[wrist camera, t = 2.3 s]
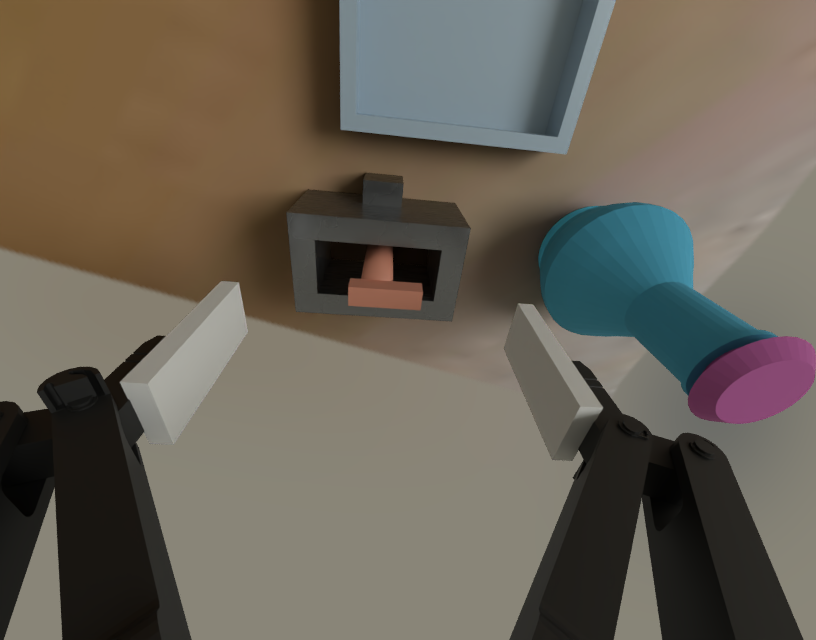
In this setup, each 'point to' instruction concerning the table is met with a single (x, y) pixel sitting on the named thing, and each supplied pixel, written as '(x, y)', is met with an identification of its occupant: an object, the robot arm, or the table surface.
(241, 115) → the table surface
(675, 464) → the robot arm
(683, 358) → the perfume bottle
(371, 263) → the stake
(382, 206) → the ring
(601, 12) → the tray
